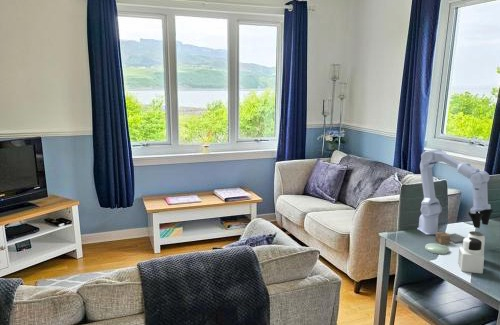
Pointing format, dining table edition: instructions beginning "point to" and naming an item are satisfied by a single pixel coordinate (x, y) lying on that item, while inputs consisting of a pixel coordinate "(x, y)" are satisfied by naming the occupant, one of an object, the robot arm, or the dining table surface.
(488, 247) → the dining table surface
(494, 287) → the dining table surface
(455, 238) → the slate coaster
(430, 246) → the sage dish
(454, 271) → the dining table surface
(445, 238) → the walnut block
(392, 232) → the dining table surface
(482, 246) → the can
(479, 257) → the container
